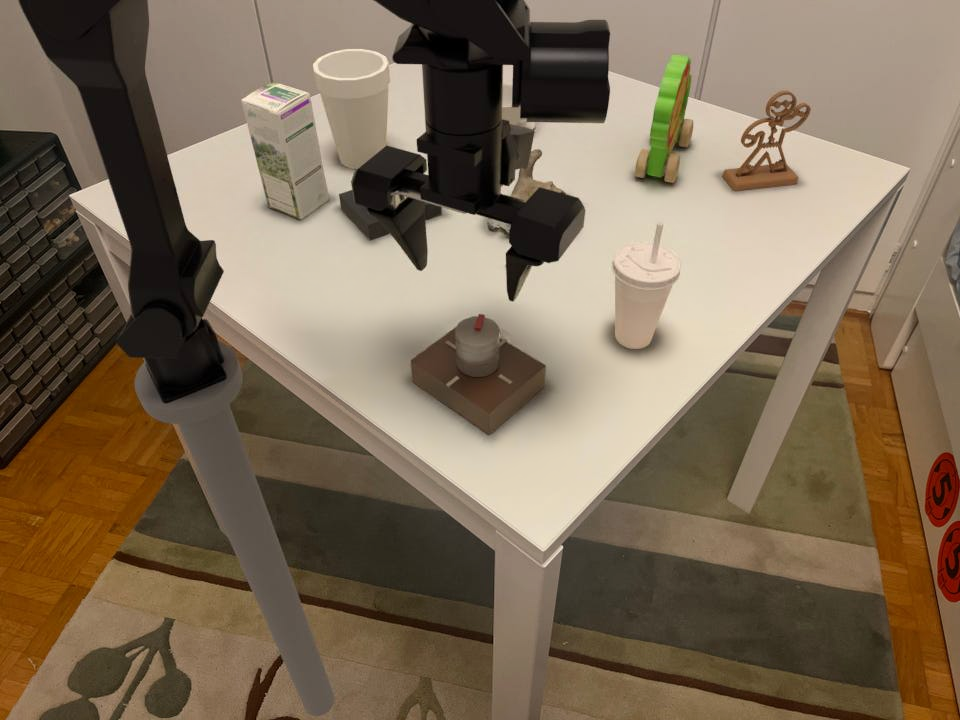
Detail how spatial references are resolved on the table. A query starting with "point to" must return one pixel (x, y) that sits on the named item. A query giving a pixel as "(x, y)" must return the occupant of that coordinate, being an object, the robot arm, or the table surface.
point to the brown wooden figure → (770, 173)
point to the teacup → (513, 110)
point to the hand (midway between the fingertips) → (466, 282)
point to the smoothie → (642, 288)
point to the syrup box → (286, 148)
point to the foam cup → (355, 102)
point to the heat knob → (477, 346)
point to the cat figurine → (525, 188)
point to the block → (369, 222)
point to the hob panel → (479, 382)
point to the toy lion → (668, 122)
